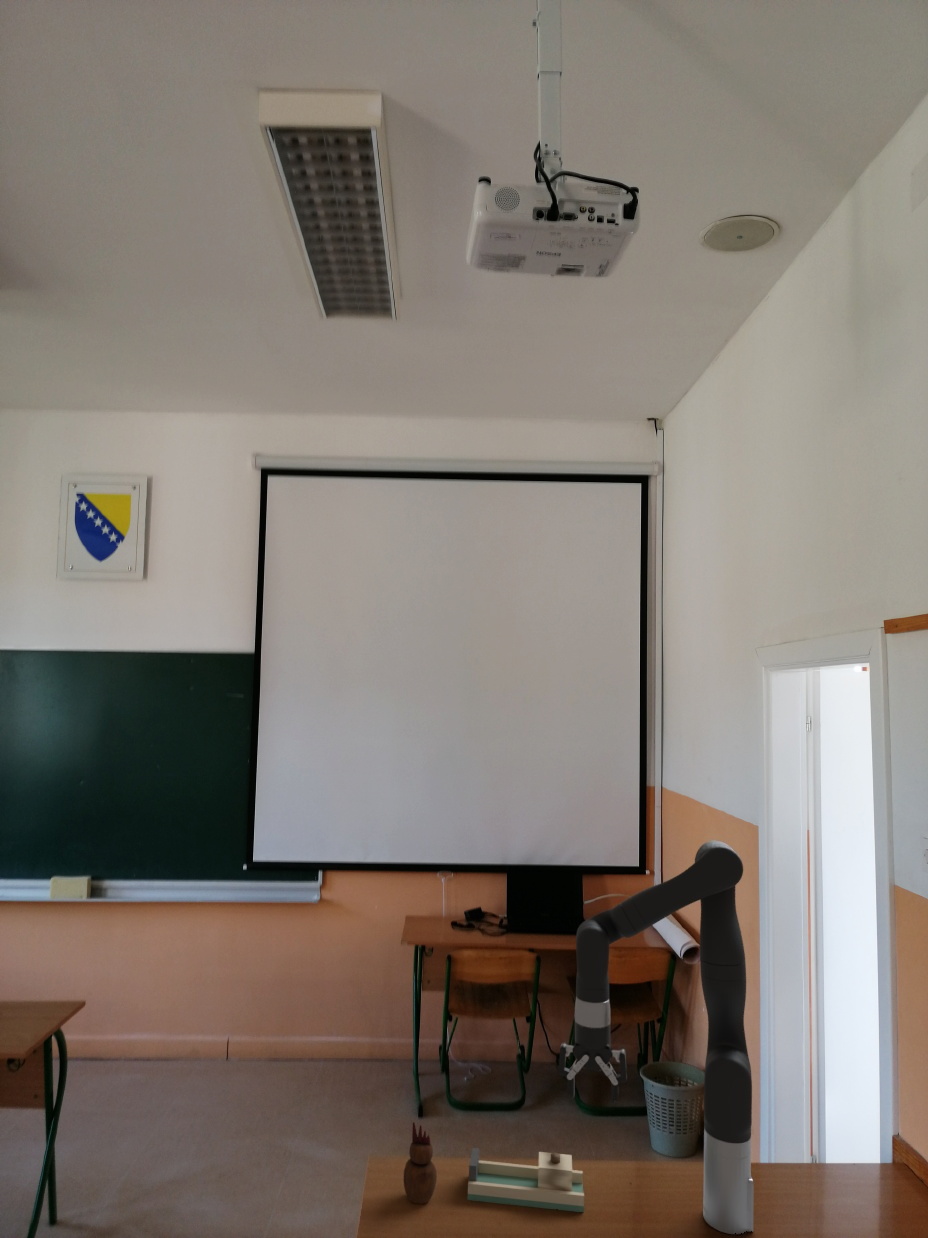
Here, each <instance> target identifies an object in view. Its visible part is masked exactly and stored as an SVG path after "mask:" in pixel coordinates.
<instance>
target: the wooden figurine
mask: <svg viewBox="0 0 928 1238" xmlns="http://www.w3.org/2000/svg"><path fill="white" fill-rule="evenodd" d="M422 1129H423V1127H422V1125H421V1124H419V1129H418V1132H417V1129H416V1124H415V1122H414V1121H413V1122H412V1134H411V1136H412V1137H411V1138H412V1140H411V1143H410V1146H409V1152H408V1153H409V1159H408V1160H407V1161H406V1163H405V1166H404V1170H403V1187H404V1191H405V1194H406V1196H407V1199H408V1200H409V1201H410V1202H412V1203H414V1204H418V1205H422V1204H427V1203H428V1202H429V1201H430V1200H431V1199H432V1196H433V1195H434V1192H435V1189H436V1186H437V1179H438V1175H437V1172H438V1171H437V1168H436V1166H435V1164H434V1163H433V1161H432V1158H433V1156H434V1155H433V1154H434V1148H433V1146H432V1144H431V1137H430V1134H428V1135H427V1132H426V1130H423V1131H422Z"/></svg>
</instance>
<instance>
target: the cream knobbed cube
mask: <svg viewBox="0 0 928 1238" xmlns="http://www.w3.org/2000/svg"><path fill="white" fill-rule="evenodd" d="M538 1166H539V1169H538V1188H541V1189H551V1190H560V1191H569V1192H572V1170H573V1158H572V1154H563V1153H558V1152H546V1151H545V1152H543V1151H539V1152H538Z"/></svg>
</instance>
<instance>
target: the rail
mask: <svg viewBox="0 0 928 1238" xmlns="http://www.w3.org/2000/svg"><path fill="white" fill-rule="evenodd" d="M538 1169H539V1165H537V1166H536V1165H529V1164H517V1163H510V1162H509V1163H508V1162H499V1161H489V1160H481V1159H480V1148H478V1147H476V1148H475V1147H472V1148H471V1155H470V1161H469V1165H468V1182H467V1201H475V1202H482V1203H484V1202H486V1203H494V1204H504V1205H511V1206H521V1207H530V1208H537V1209H539V1208H541V1209H548V1210H556V1209H558V1210H557V1211H567V1212H577V1213H585V1192H584V1188H583V1187H584V1185H583V1177H584V1174H583V1173H584V1171H583V1170H576V1169H572V1192H569V1191H560V1190H551V1189H541V1188H538Z"/></svg>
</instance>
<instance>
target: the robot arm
mask: <svg viewBox="0 0 928 1238" xmlns="http://www.w3.org/2000/svg"><path fill="white" fill-rule="evenodd" d="M743 875H744V864H743V860H742V859H741V857H740V855H739V854H738V852H736V851H735V850H734V849H733V848H732V847H731V846H730V845H728V844H727V843H725V842H723V841H721V840H714V839H713V840H709V841H707V842H704V843H702V844H701V846H699V848H698V849H697V851H696V853H695V857H694V863H693V864H692V865H690V866H689V867H688V868H687V869H685V870H684V871H682V872H681V873H679V874H677V875H676V876H674V877H672V878H670V879H668V880H666V881H663V882H661V883H658V884H655V885H653V886H651V887H648V888H645V889H644V890H641V891H639V892H637V893H635V894H633V895H631V896H630V897H628V898H627V899H625V900H623V901H622V902H620V903H618V904H617V905H615V906H614V907H612V908H609V909H606V910H604V911H601V912H600V913H597V914H594V915H593V916H591V917H589V918H587V919H586V920H585V921H583V922H581V923H580V924H579V926H578V928H577V930H576V935H575V937H576V938H575V953H576V969H577V971H576V981H575V983H576V984H575V1004H574V1014H573V1015H574V1044H573V1045H570V1044H567V1043H566V1042H564V1041H563V1042H561V1044H560V1048H559V1058H558V1059H559V1060H558V1075H559V1076H561V1077H565V1078H566V1080H567V1081H566V1082H567V1085H566V1086H567V1089H566V1090H567V1091H566V1092H567V1095H568V1096H570V1099H574V1098H575V1095H576V1094H575V1093H576V1092H575V1090H576V1089H575V1088H576V1087H575V1086H576V1084H575V1083H576V1082H575V1081H576V1080H575V1078H576V1077H575V1076H576V1075H577V1074H578V1073H579V1072H580V1071H581V1069H582V1068H583V1069H584V1070H585V1071H595V1072H599V1073H600V1072H601V1071H602V1072H603V1073H604V1075H605V1076H606V1077H607V1078H608V1079H609V1080H610V1082H611V1085H610V1087H611V1088H610V1089H611V1092H610V1094H611V1095H610V1100H611V1104H615V1103H616V1101H618V1099H619V1085H620V1084H625V1083H627V1081H628V1072H627V1055H626V1053H627V1052H626V1049H625V1048H620V1049H618V1050H617V1049H613V1048H612V1045H611V1043H612V1042H611V1021H612V1020H611V1019H612V1018H611V1003H610V978H609V964H610V945H612V944H613V943H615V942H617V941H618V940H621V939H622V938H623V939H624V938H626V939H627V938H628V939H629V938H632V937H635V936H636V935H638V934H639V933H642V932H643V931H646V930H647V929H649V928H650V927H652V926H653V925H655V924H657V923H659V922H660V921H662V920H663V919H665V918H667V917H668V916H670V915H672V914H674V913H676V912H677V911H679V910H681V909H683V908H685V907H687V906H689V905H692V904H694V903H695V902H698V901H700V921H699V922H700V923H699V965H700V978H701V979H700V981H701V989H702V994H703V999H704V1003H705V1008H706V1013H707V1021H708V1022H707V1026H708V1027H707V1045H706V1047H707V1049H706V1057H705V1064H704V1076H703V1078H704V1079H703V1081H704V1083H703V1084H704V1086H703V1087H704V1088H703V1090H704V1092H703V1095H704V1096H703V1099H704V1100H703V1117H704V1119H703V1121H704V1122H703V1125H704V1127H703V1129H704V1130H703V1133H704V1134H703V1195H702V1196H703V1201H702V1209H703V1210H702V1212H703V1213H702V1215H703V1218H704V1219H703V1220H704V1221H705V1222H706V1223H707V1224H708V1225H709V1226H710V1227H711V1228H713V1229H715V1230H717V1231H719V1232H721V1233H725V1234H727V1235H729V1234H730V1235H741V1233H742V1234H745V1233H747V1232H751V1231H752V1232H754V1180H753V1178H752V1174H751V1172H752V1171H751V1170H752V1166H751V1164H752V1160H751V1159H752V1124H753V1123H752V1121H753V1117H752V1113H753V1112H752V1111H753V1081H752V1080H753V1079H752V1068H751V1067H752V1066H751V1063H750V1059H749V1052H748V1045H747V1038H746V1032H745V1031H746V1030H745V1020H744V1019H745V1008H746V1000H747V999H746V997H747V969H746V968H747V967H746V966H747V965H746V953H745V948H744V947H745V946H744V941H743V935H742V931H741V927H740V922H739V918H738V914H737V906H736V885H738V883H740V881H741V879H742V877H743ZM570 1053H572V1054H573V1056H574V1057H575V1060H574V1062H573V1064H572V1066H571V1067H570V1068H568V1067H566V1065H567V1064H566V1062H567V1057H569V1056H570ZM612 1058H614V1059H615V1062H616V1063H619V1070H620V1073H618V1074H617V1073H616V1071H615V1070H614V1067H613V1066H612V1064H611V1063H610V1061H611V1060H612ZM746 1231H747V1232H746ZM744 1232H745V1233H744ZM735 1233H736V1234H735Z"/></svg>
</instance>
